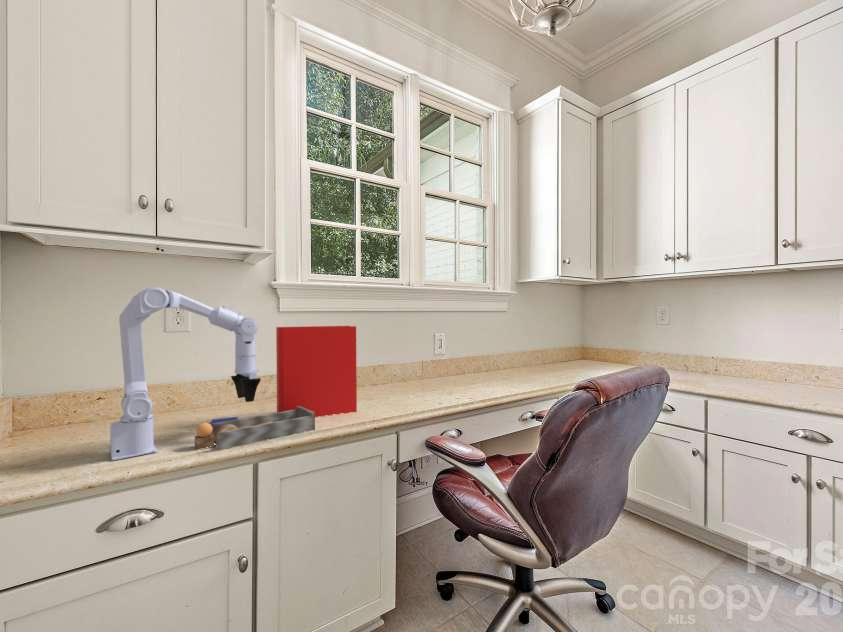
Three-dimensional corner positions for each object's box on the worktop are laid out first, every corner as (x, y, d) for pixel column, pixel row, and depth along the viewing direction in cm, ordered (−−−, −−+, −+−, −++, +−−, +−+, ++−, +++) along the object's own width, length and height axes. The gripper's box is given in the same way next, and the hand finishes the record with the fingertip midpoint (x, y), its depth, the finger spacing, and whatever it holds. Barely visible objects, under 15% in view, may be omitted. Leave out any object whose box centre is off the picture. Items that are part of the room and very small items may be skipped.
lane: (218, 465, 105) (217, 429, 105) (207, 453, 114) (207, 421, 114) (315, 442, 124) (314, 412, 124) (299, 434, 132) (299, 405, 132)
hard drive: (211, 419, 133) (206, 429, 122) (238, 416, 136) (235, 426, 125) (211, 423, 133) (206, 434, 122) (238, 421, 136) (235, 431, 125)
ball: (197, 440, 106) (197, 425, 106) (194, 437, 109) (194, 422, 109) (214, 437, 108) (214, 423, 108) (210, 434, 111) (210, 420, 111)
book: (350, 407, 153) (349, 325, 153) (356, 411, 146) (356, 326, 146) (276, 416, 141) (275, 327, 140) (279, 421, 133) (279, 327, 133)
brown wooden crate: (197, 450, 106) (197, 439, 106) (194, 446, 109) (194, 435, 109) (214, 446, 108) (214, 436, 108) (210, 443, 111) (210, 432, 111)
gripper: (266, 356, 119) (267, 401, 119) (251, 353, 130) (251, 394, 130) (242, 358, 114) (242, 404, 114) (228, 354, 125) (228, 397, 125)
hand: (245, 399), depth 122 cm, fingers open, 7 cm apart
